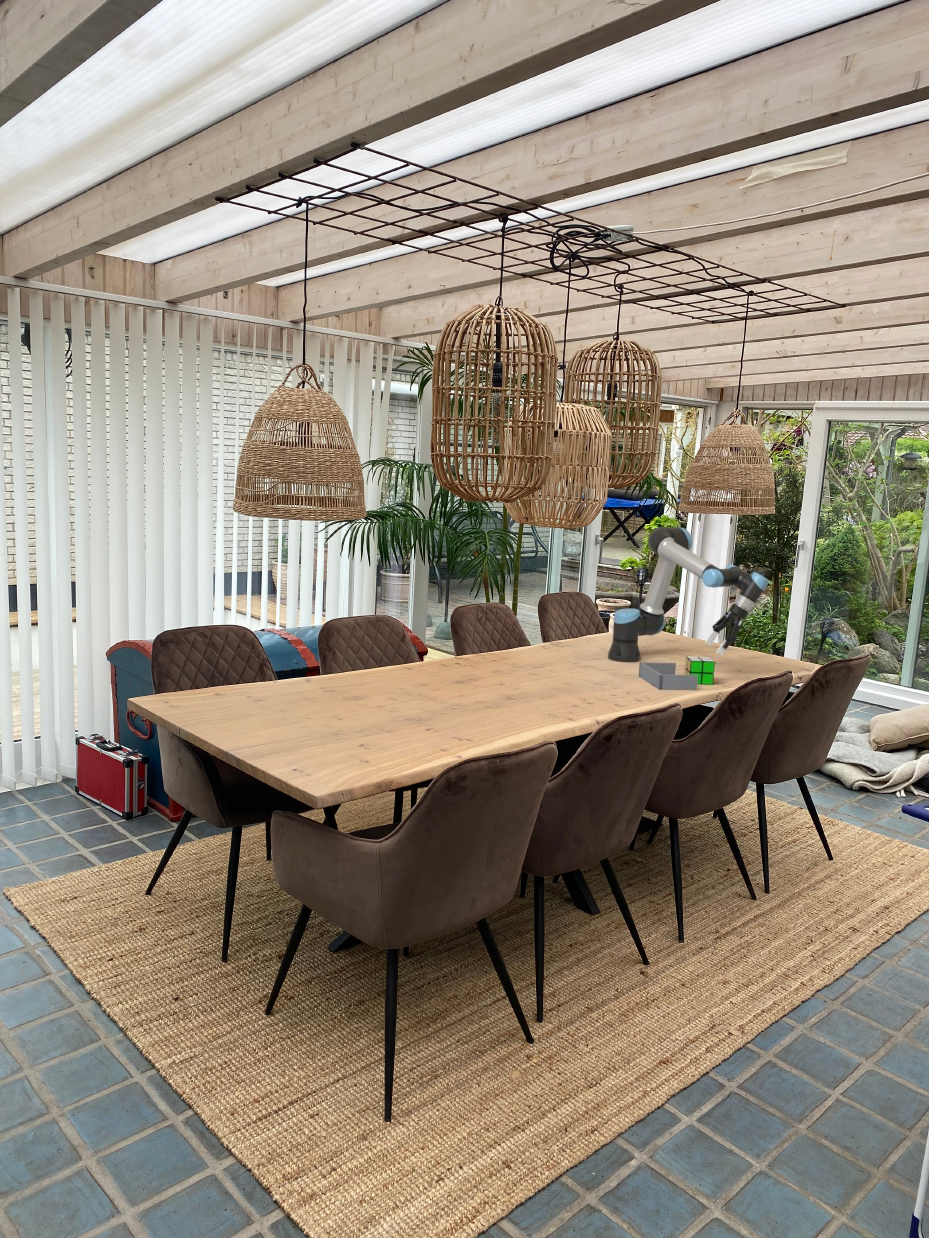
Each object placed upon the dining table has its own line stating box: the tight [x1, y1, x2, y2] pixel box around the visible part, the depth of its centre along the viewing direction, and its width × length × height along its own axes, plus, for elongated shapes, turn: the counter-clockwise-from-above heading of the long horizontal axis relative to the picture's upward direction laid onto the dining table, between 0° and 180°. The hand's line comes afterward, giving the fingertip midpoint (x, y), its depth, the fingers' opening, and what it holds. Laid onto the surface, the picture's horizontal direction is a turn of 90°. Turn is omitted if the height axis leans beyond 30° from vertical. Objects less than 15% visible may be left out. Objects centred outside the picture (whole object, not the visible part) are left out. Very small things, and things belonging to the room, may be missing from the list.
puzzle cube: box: [683, 655, 716, 686], centre depth 374 cm, size 10×10×10 cm
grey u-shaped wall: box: [638, 662, 698, 691], centre depth 369 cm, size 25×16×6 cm, turn 7°
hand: (713, 649), depth 378 cm, fingers open, 13 cm apart
